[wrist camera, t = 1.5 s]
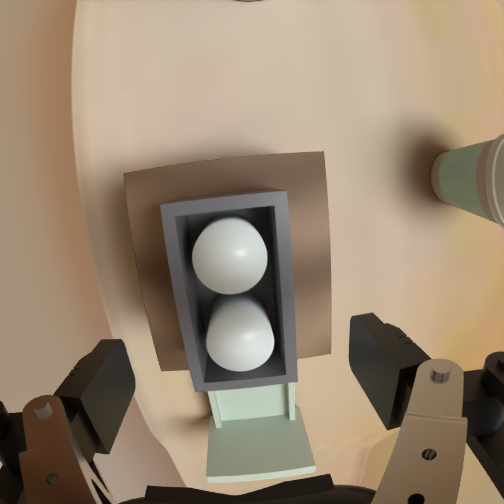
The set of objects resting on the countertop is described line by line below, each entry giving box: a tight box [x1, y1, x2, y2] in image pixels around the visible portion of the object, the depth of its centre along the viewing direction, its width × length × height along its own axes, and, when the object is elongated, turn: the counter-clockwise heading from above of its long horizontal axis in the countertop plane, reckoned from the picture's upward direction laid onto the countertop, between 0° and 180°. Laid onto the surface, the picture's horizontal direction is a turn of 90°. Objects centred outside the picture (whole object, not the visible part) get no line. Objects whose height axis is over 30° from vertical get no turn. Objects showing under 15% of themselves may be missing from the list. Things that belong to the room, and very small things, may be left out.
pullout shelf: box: [206, 382, 316, 483], centre depth 27 cm, size 14×10×9 cm
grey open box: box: [160, 188, 298, 392], centre depth 17 cm, size 10×6×4 cm, turn 5°
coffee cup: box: [431, 134, 504, 229], centre depth 22 cm, size 9×8×12 cm
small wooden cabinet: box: [123, 151, 331, 371], centre depth 24 cm, size 14×12×10 cm
